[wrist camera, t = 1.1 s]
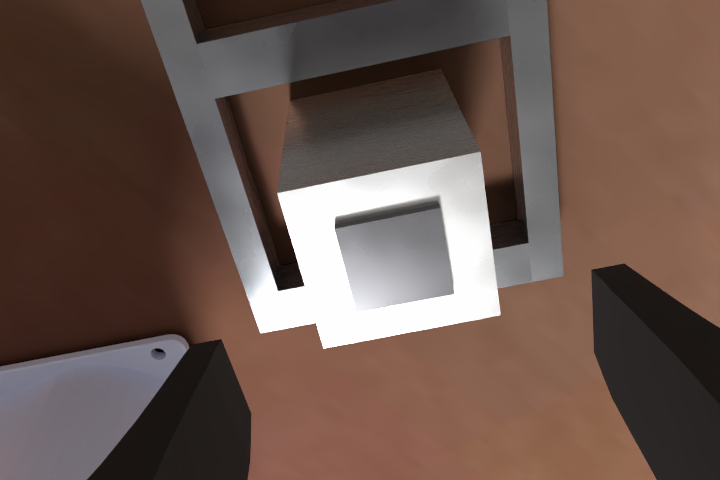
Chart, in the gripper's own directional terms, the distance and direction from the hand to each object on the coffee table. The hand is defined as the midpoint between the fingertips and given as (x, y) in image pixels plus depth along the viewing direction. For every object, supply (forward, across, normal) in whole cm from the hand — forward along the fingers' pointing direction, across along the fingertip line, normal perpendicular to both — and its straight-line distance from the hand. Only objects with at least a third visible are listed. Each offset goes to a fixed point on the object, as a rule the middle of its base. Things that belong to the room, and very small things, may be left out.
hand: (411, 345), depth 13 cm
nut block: (+9, 0, 0) cm, 9 cm away
